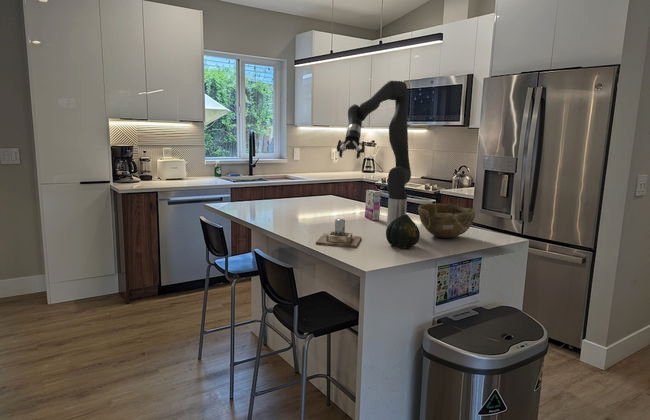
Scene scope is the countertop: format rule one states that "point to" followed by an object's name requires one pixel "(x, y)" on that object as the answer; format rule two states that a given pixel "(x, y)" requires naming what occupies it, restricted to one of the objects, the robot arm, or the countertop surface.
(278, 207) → the countertop surface
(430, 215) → the bowl
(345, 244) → the socket board
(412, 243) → the squash
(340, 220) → the steel cylinder
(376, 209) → the candy bar box
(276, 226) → the countertop surface
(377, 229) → the countertop surface
